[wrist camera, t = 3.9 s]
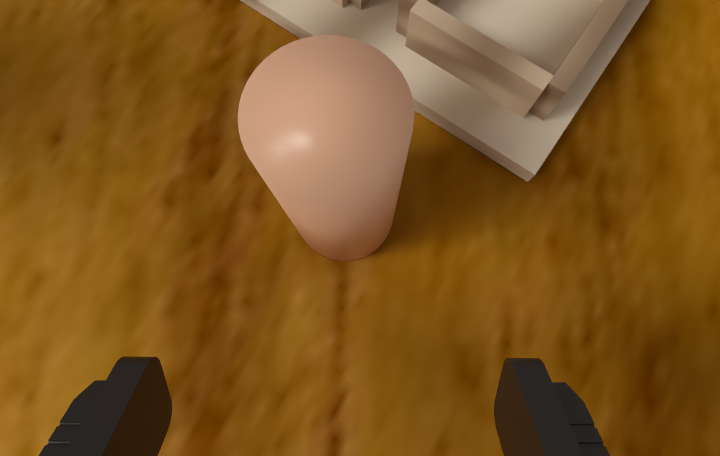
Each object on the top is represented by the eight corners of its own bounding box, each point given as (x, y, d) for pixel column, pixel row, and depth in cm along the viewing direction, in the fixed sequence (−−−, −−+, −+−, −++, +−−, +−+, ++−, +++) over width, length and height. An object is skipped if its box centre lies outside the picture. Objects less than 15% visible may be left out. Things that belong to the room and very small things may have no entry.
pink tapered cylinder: (277, 224, 22) (201, 134, 12) (333, 149, 22) (307, 5, 12) (356, 280, 21) (346, 233, 11) (412, 201, 22) (448, 93, 12)
